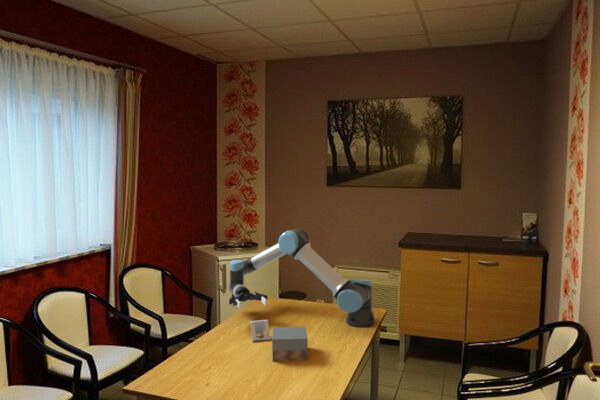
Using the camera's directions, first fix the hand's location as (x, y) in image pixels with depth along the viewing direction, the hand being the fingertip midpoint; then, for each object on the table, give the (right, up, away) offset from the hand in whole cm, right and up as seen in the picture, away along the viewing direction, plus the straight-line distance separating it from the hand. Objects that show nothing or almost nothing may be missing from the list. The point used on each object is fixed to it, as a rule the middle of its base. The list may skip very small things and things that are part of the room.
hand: (253, 304), depth 243 cm
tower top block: (+19, -12, -28) cm, 35 cm away
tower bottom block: (+19, -17, -27) cm, 37 cm away
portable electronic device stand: (+4, -15, -8) cm, 18 cm away
